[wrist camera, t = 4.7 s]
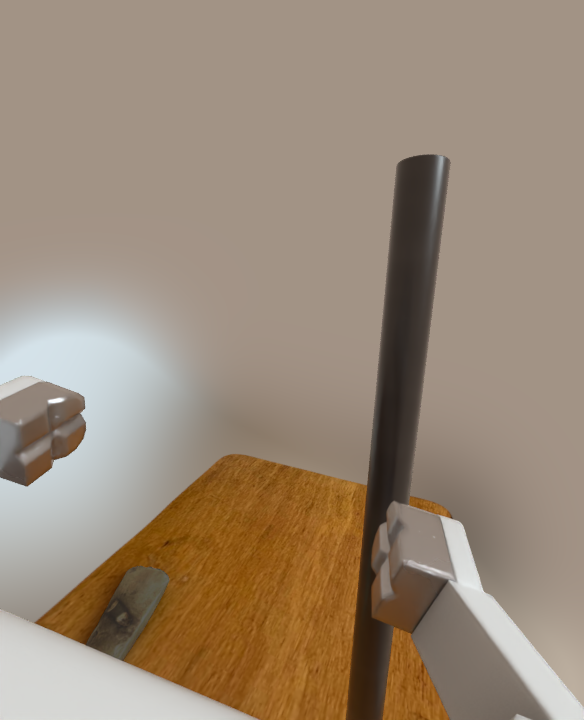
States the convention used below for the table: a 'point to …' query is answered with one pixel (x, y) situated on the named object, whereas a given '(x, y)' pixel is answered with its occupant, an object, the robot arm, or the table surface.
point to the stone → (128, 611)
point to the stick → (397, 400)
